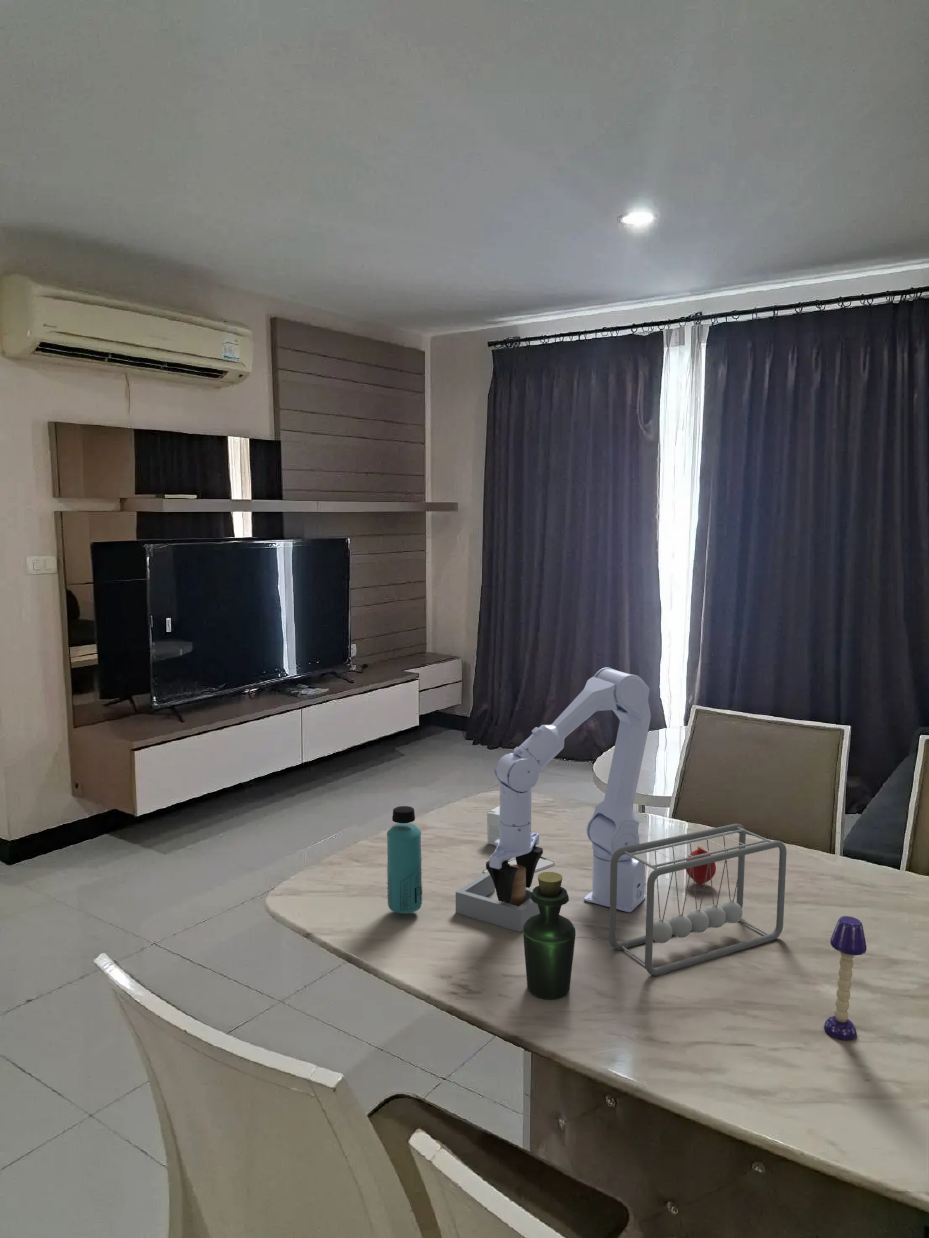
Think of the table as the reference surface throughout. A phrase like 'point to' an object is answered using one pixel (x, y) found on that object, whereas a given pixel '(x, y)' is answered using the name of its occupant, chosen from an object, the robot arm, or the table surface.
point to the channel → (493, 905)
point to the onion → (701, 868)
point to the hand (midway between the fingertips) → (514, 893)
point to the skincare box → (493, 825)
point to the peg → (518, 886)
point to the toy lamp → (845, 974)
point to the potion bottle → (549, 940)
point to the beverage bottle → (404, 862)
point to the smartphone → (541, 865)
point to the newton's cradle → (695, 918)
